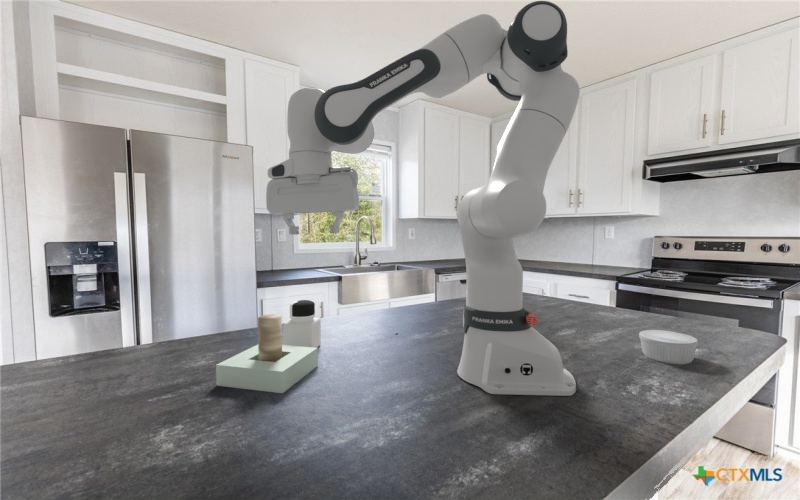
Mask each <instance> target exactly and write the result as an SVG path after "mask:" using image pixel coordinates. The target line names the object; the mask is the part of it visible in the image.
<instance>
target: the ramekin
mask: <svg viewBox="0 0 800 500" xmlns="http://www.w3.org/2000/svg"><path fill="white" fill-rule="evenodd" d="M638 333H639V334H638V337H639V339H640V345H641V351H642V354H643V355H644V356H645V357H646V358H649V359H650V360H652V361H653V360H654V361H657V362H661V363H665V364H670V365H671V364H672V365H688V364H690V363H692V362H693V360H694V359H695V355H696V351H697V346H698V345H699V340H698V339H697V338H696V337H693V336H692V335H689V334H685V333H681V332H675V331H669V330H663V329H662V330H661V329H647V330H646V329H645V330H642V331H640V332H638Z"/></svg>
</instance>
